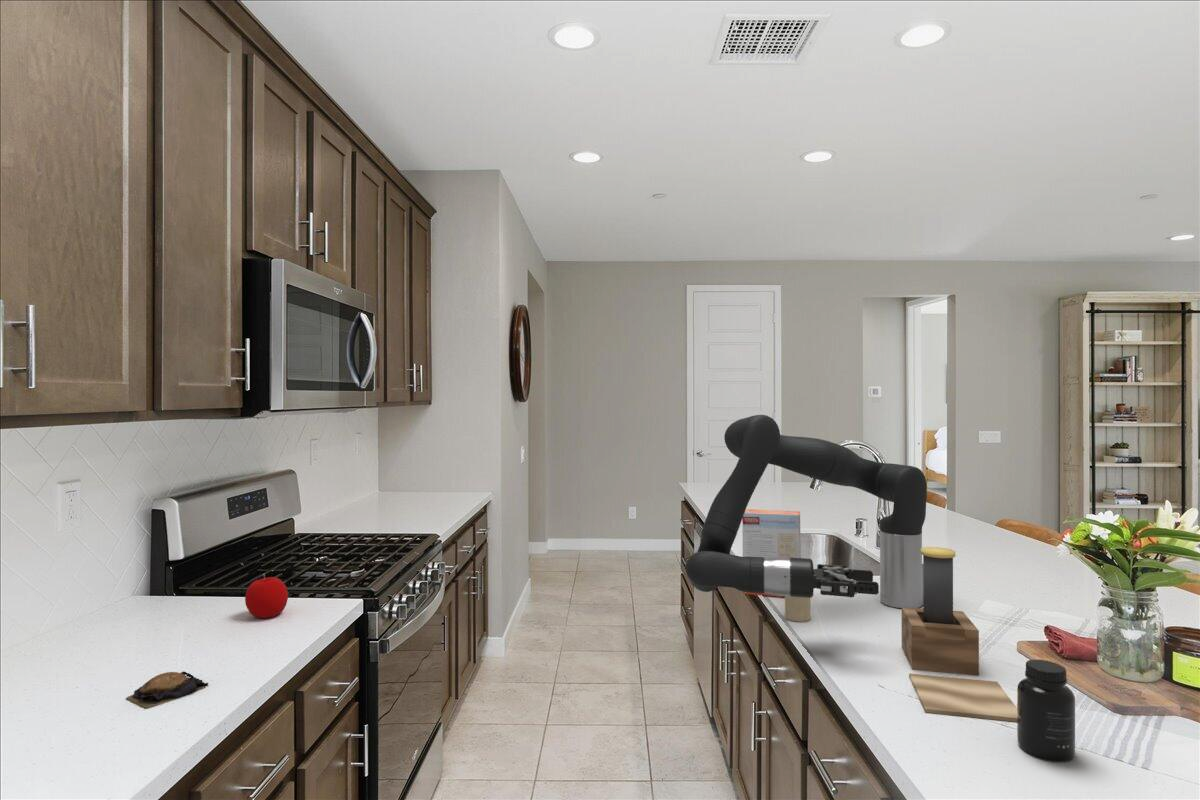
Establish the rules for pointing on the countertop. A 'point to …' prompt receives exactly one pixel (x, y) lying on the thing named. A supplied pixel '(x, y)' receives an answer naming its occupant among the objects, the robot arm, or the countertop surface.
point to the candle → (797, 609)
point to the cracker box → (771, 535)
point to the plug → (937, 585)
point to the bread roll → (165, 689)
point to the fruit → (266, 597)
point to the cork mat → (963, 697)
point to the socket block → (940, 643)
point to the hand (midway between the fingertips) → (875, 582)
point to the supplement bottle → (1046, 712)
